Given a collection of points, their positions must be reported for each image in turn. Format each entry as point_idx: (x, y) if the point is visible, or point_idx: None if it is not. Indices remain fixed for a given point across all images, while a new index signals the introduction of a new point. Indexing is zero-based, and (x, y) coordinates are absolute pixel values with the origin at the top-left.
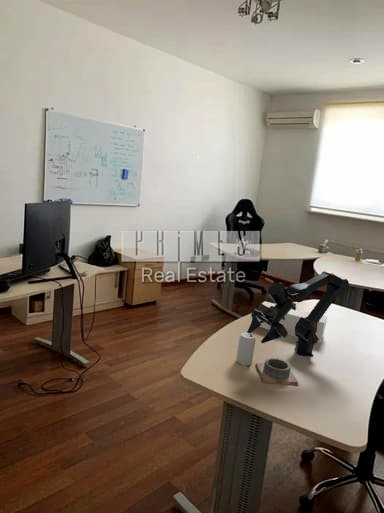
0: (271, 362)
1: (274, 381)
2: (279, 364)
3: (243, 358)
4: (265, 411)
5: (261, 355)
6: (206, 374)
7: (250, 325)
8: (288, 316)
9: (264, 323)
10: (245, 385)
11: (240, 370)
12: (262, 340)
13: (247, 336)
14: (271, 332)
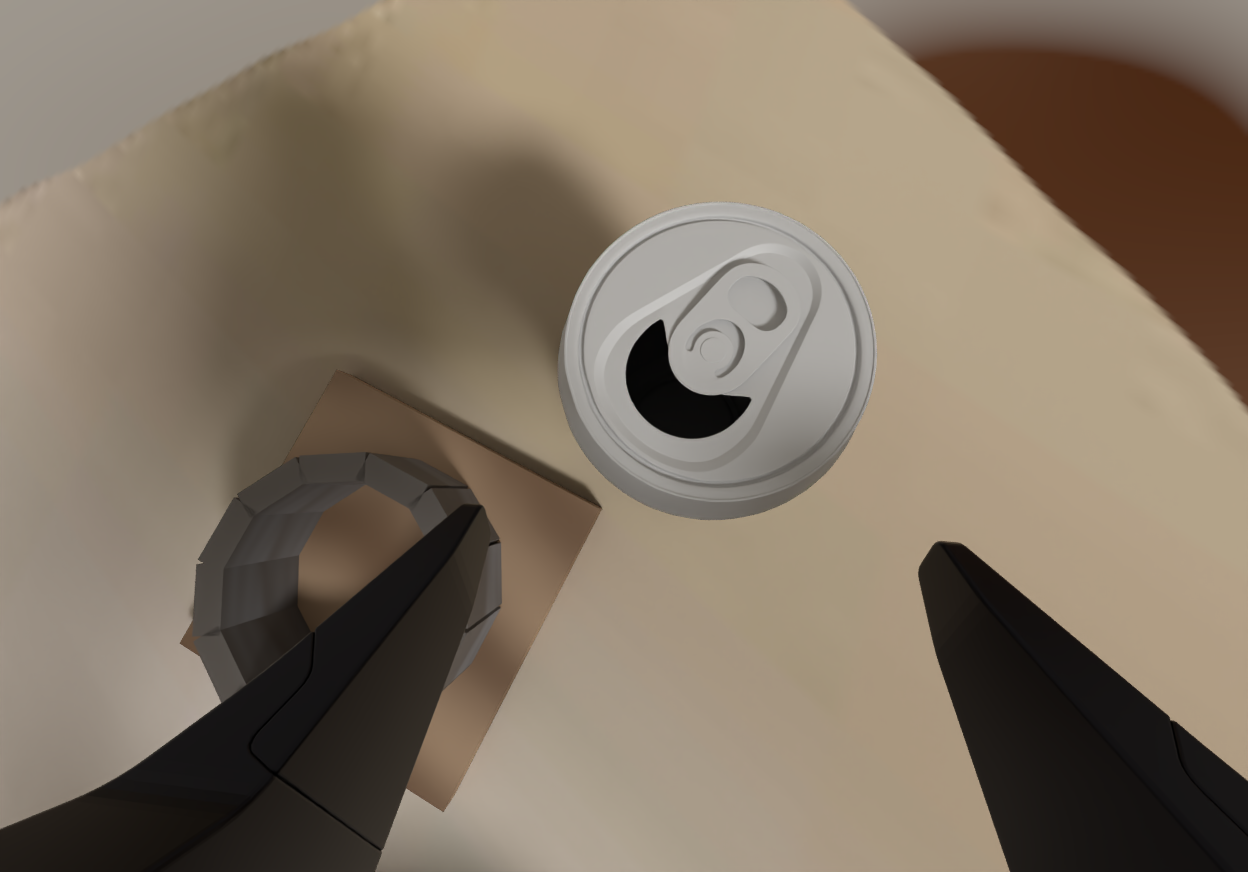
0: None
1: (296, 448)
2: None
3: (630, 354)
4: (108, 151)
5: (744, 720)
6: (627, 22)
7: (1125, 694)
8: None
9: None
10: (385, 211)
11: None
12: (447, 523)
13: (680, 307)
14: (138, 779)
